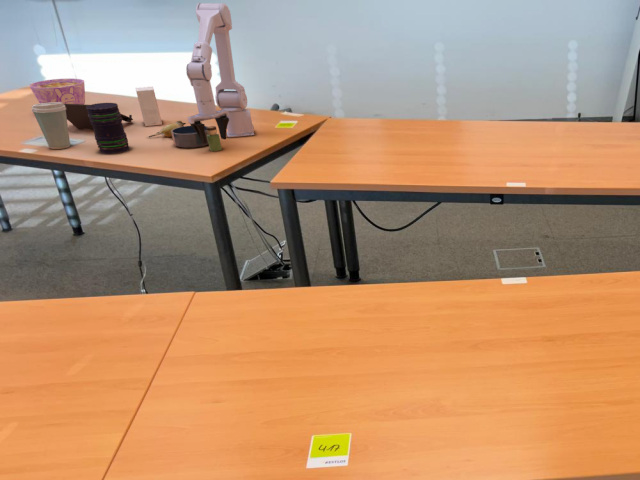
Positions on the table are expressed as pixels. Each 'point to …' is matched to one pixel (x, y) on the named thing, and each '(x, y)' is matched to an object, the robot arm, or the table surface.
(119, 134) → the dark striped cylinder
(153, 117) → the small box
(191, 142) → the bowl
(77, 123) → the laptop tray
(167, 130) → the decorative bird model
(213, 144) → the peg doll
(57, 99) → the bowl of food
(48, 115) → the disposable coffee cup
